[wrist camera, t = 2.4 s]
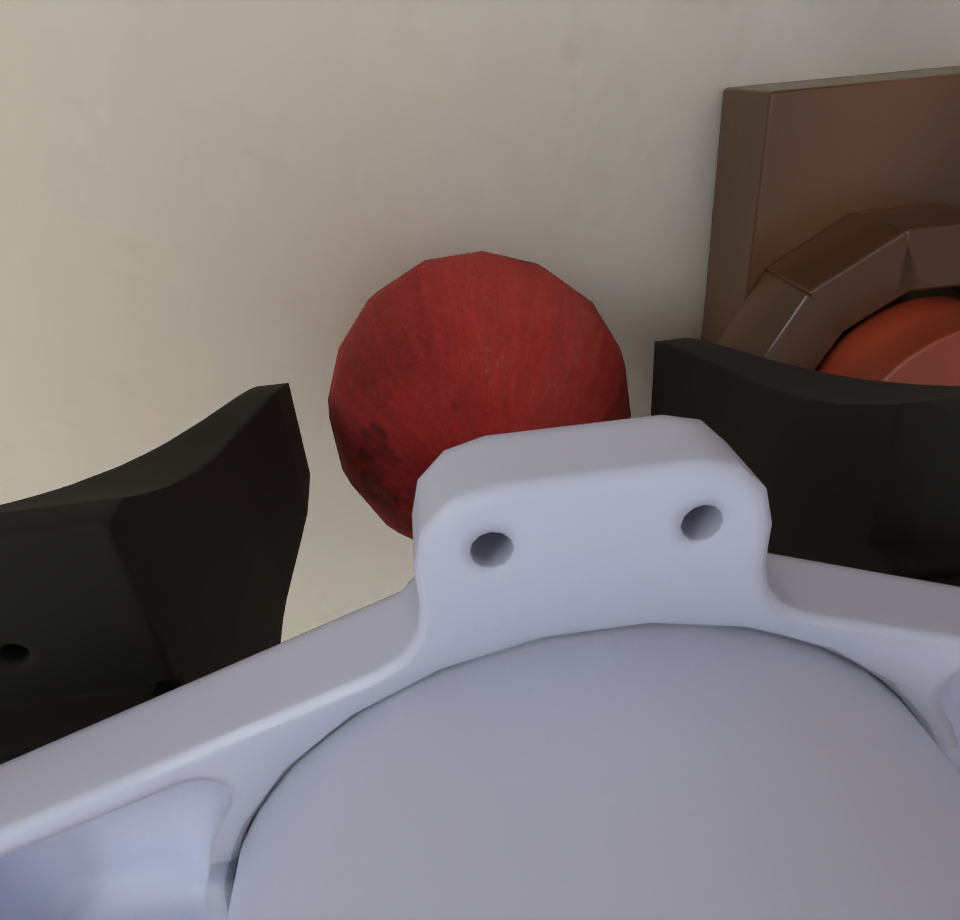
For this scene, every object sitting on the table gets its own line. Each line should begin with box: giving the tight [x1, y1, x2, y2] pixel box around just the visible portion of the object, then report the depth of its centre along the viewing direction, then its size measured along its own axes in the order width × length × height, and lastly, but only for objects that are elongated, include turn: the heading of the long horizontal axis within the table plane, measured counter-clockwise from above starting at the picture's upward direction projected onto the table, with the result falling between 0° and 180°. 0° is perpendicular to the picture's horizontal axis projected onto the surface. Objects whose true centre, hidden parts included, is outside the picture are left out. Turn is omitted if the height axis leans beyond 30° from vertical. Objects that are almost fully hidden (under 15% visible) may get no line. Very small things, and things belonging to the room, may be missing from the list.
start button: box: [816, 296, 960, 386], centre depth 14 cm, size 4×4×2 cm
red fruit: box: [328, 251, 631, 539], centre depth 14 cm, size 6×6×8 cm
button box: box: [702, 66, 960, 371], centre depth 16 cm, size 11×12×4 cm
